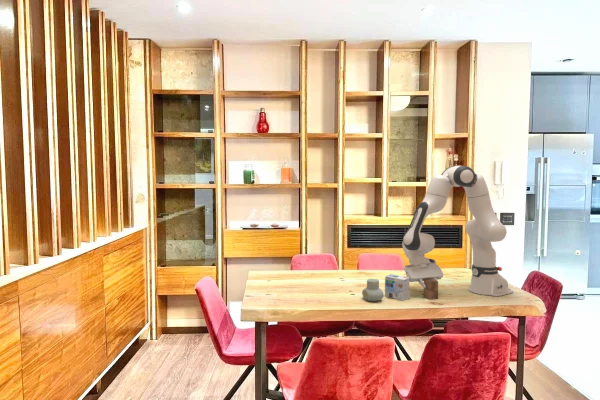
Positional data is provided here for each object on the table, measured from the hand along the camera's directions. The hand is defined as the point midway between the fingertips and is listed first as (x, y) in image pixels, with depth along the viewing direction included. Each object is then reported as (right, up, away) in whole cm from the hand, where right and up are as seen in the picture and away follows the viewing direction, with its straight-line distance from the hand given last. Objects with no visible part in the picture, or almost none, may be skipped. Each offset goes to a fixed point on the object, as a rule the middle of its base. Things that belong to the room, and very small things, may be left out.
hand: (430, 287), depth 191 cm
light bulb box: (-17, -6, +1) cm, 18 cm away
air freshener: (-30, -6, -3) cm, 31 cm away
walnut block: (0, -5, 0) cm, 5 cm away
